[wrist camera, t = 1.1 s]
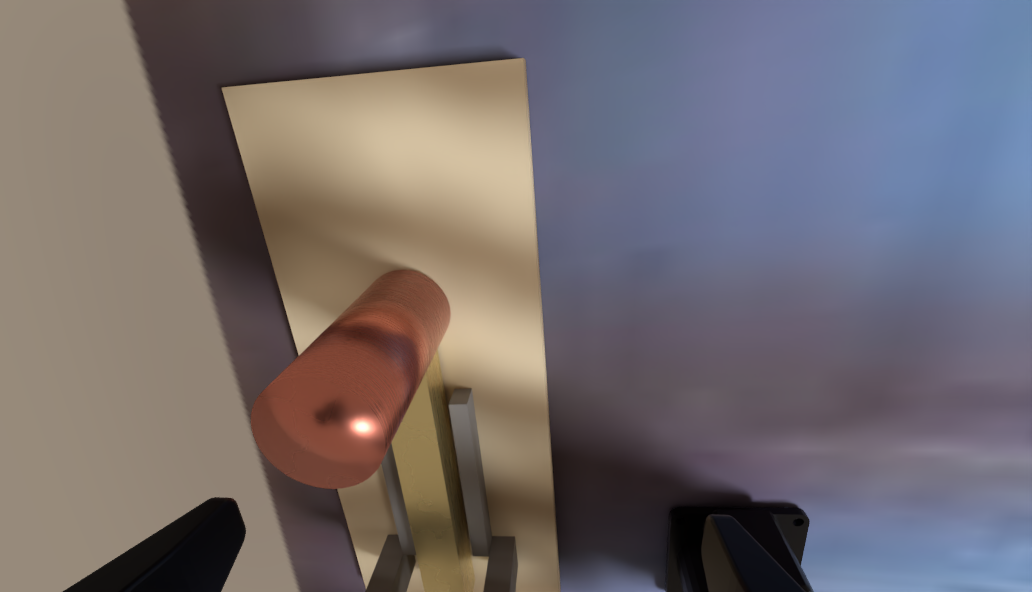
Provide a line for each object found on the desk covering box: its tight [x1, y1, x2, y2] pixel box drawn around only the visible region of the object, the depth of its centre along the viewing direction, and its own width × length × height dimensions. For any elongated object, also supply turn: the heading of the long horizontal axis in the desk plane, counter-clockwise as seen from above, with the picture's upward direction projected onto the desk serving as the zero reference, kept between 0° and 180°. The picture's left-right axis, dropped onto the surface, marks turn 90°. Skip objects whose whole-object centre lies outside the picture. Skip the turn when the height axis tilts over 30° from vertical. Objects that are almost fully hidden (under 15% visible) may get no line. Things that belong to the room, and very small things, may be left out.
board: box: [222, 58, 560, 592], centre depth 19 cm, size 27×11×7 cm, turn 5°
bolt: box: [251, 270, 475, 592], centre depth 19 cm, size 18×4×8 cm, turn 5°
